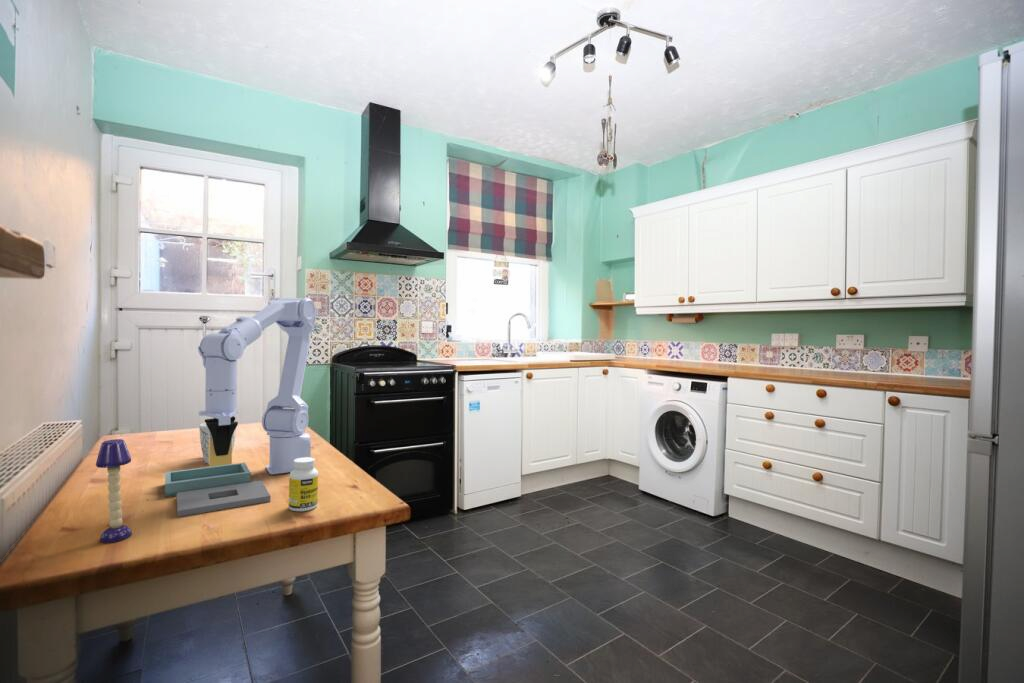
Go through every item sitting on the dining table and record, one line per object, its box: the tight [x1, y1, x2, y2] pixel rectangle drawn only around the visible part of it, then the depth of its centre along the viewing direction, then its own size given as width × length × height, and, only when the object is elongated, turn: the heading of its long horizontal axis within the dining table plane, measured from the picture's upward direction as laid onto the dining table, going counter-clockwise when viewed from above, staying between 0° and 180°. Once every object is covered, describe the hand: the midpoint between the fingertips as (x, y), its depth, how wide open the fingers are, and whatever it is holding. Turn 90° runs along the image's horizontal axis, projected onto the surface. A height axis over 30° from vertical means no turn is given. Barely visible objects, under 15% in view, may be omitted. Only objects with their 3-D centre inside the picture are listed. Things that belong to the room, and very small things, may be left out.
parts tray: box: [164, 462, 251, 498], centre depth 111 cm, size 16×10×3 cm, turn 125°
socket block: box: [176, 480, 271, 518], centre depth 102 cm, size 16×12×1 cm
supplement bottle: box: [288, 457, 319, 512], centre depth 99 cm, size 5×5×10 cm
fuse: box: [208, 431, 233, 467], centre depth 103 cm, size 4×3×7 cm
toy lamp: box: [95, 438, 133, 544], centre depth 83 cm, size 5×5×17 cm
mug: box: [198, 422, 237, 464], centre depth 132 cm, size 11×8×10 cm
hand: (221, 453), depth 104 cm, fingers closed on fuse, 3 cm apart
